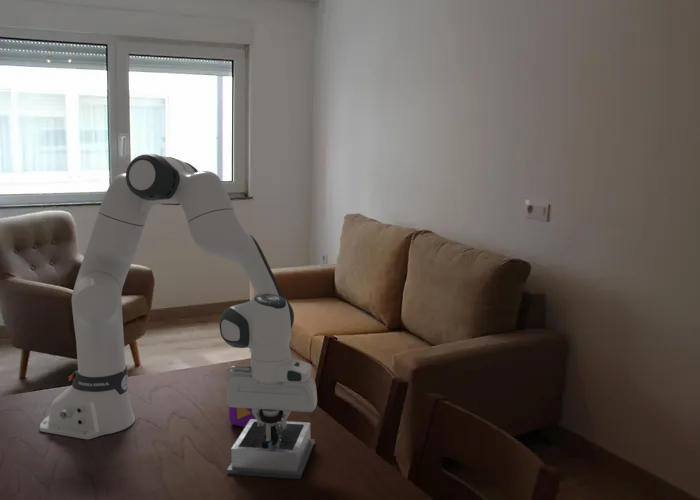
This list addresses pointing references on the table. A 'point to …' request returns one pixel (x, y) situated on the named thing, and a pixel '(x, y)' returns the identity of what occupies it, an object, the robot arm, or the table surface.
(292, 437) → the grey open box
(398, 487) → the table surface
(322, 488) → the table surface
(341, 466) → the table surface
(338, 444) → the table surface
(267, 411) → the push button
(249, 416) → the toy camera
